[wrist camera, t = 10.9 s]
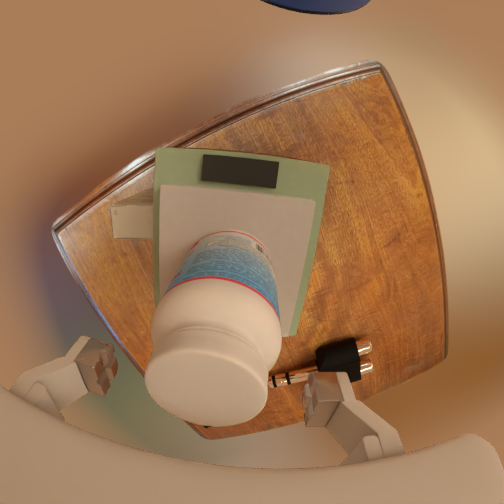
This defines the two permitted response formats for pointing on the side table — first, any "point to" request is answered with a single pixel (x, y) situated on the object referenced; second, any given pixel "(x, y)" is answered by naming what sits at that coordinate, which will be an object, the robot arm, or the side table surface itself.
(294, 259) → the kitchen scale
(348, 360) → the audio adapter
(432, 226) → the side table surface
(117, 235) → the cosmetic box
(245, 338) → the pill bottle
